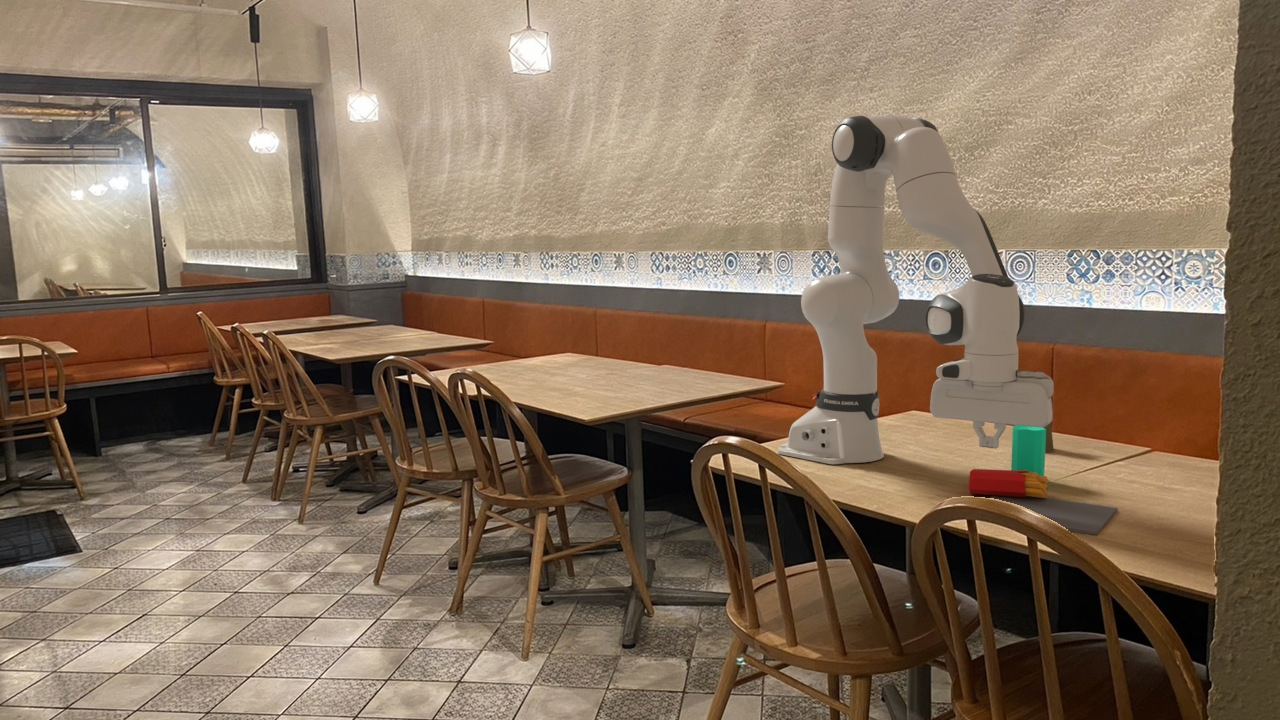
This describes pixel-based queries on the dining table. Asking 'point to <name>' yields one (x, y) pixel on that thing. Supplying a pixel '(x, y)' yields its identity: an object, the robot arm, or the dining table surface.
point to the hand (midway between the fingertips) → (988, 447)
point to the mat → (1066, 512)
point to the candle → (1028, 449)
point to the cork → (1049, 437)
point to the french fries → (1007, 483)
